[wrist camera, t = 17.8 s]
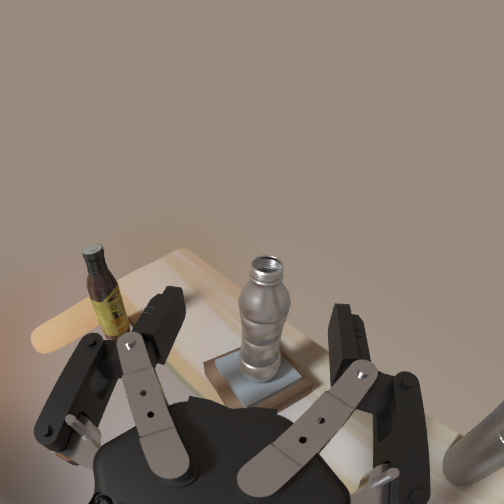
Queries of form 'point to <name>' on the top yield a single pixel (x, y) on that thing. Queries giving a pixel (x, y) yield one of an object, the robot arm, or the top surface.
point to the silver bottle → (262, 319)
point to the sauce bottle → (105, 294)
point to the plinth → (269, 404)
